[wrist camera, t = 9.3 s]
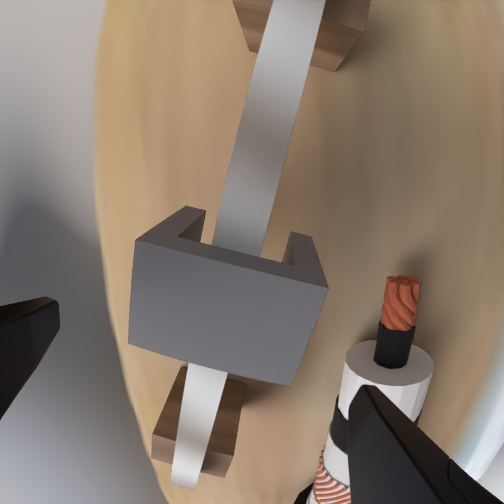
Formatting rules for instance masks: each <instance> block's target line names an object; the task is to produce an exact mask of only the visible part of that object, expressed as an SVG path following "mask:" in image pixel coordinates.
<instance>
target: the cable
mask: <svg viewBox="0 0 504 504" xmlns="http://www.w3.org/2000/svg"><path fill="white" fill-rule="evenodd" d="M420 287H421V283H420V282H418V279H417V278H411V277H410V278H408V279H407V276H403V275H398V276H397V277H394V276H389V277H387V284H386V289H385V293H384V304H383V308H382V317H381V320H380V322H379V328H378V335H377V340H367V341H362V342H360V343H357V344H355V345H353V346H352V347H351V348H350V349H349V350H348V351H347V352H346V357H345V363H344V369H343V375H342V381H341V387H340V393H339V395H338V397H337V399H336V405H335V410H334V415H333V420H332V422H331V424H330V427H329V432H328V436H327V441H326V445H325V446H324V450H322V451H321V456H320V458H319V463H320V464H319V466H318V472H317V473H316V475H317V477H316V478H315V482H314V483H312V484H311V485H310V486H308V487H307V488H306V489H304V490H303V491H302V492H300V493H299V495H298V497H297V499H296V500H295V502H294V504H351V496H350V481H349V469H348V455H347V447H348V409H349V405H350V403H351V401H352V400H353V398H354V396H355V394H356V393H357V391H358V389H359V388H360V386H361V385H363V384H368V385H375V386H377V387H378V388H379V389H380V390H381V391H382V392H383V393H384V394H385V395H386V396H387V397H388V398H389V399H390V400H391V401H392V402H393V403H394V404H395V405H396V406H397V407H398V408H399V409H400V410H401V411H402V412H403V413H404V414H405V415H406V416H407V417H408V418H410V419H411V420H412V421H413V422H414V423H415V424H416V425H417V423H418V420H419V417H420V415H421V412H422V406H423V403H424V400H425V397H426V394H427V391H428V388H429V384H430V381H431V378H432V374H433V371H434V361H433V360H432V359H431V357H430V356H429V354H428V353H427V352H425V351H424V350H422V349H421V348H419V347H417V346H415V345H413V344H412V341H413V336H414V332H415V327H416V326H415V325H414V324H415V319H414V316H415V315H416V313H417V302H418V301H419V295H420Z"/></svg>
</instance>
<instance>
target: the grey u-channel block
mask: <svg viewBox="0 0 504 504" xmlns="http://www.w3.org/2000/svg"><path fill="white" fill-rule="evenodd" d="M205 214H206V210H202V209H198V208H193V207H189V206H185V207H183V208H182V209H180V210H179V211H177V212H176V213H174V214H173V215H171V216H170V217H168V218H167V219H165V220H164V221H162V222H161V223H159V224H158V225H156V226H155V227H153V228H152V229H150V230H149V231H147V232H146V233H144V234H143V235H142V236H140V237H139V238H137V239H136V240H135V249H134V259H133V269H132V281H131V295H130V312H129V334H128V344H131V345H134V346H137V347H140V348H143V349H146V350H149V351H152V352H155V353H159V354H162V355H165V356H168V357H172V358H175V359H178V360H182V361H185V362H189V363H192V364H196V365H200V366H203V367H207V368H211V369H215V370H219V371H223V372H227V373H231V374H235V375H239V376H243V377H248V378H252V379H257V380H261V381H266V382H271V383H276V384H281V385H286V386H291V384H292V382H293V379H294V377H295V374H296V372H297V370H298V367H299V365H300V362H301V360H302V357H303V355H304V352H305V350H306V347H307V345H308V342H309V340H310V337H311V335H312V332H313V329H314V327H315V324H316V322H317V319H318V316H319V314H320V311H321V308H322V305H323V303H324V300H325V297H326V294H327V291H328V289H329V288H328V285H327V282H326V279H325V276H324V273H323V270H322V267H321V263H320V260H319V257H318V255H317V252H316V249H315V246H314V243H313V240H312V237H311V236H307V235H303V234H299V233H295V232H290V235H289V239H288V243H287V246H286V250H285V253H284V257H283V260H282V263H280V262H276V261H272V260H268V259H264V258H260V257H256V256H252V255H248V254H244V253H240V252H236V251H232V250H228V249H224V248H220V247H216V246H212V245H208V244H204V243H200V240H201V235H202V230H203V224H204V219H205Z"/></svg>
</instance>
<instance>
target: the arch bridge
mask: <svg viewBox="0 0 504 504" xmlns="http://www.w3.org/2000/svg"><path fill="white" fill-rule="evenodd" d="M370 1H371V0H233V4H234V7H235V10H236V13H237V16H238V18H239V21H240V24H241V27H242V30H243V33H244V36H245V39H246V42H247V45H248V48H249V51H253V52H258V56H257V60H256V63H255V67H254V71H253V74H252V78H251V82H250V86H249V89H248V93H247V97H246V101H245V105H244V109H243V113H242V116H241V120H240V124H239V128H238V132H237V136H236V140H235V145H234V149H233V153H232V157H231V161H230V165H229V170H228V174H227V178H226V182H225V187H224V191H223V195H222V200H221V204H220V209H219V213H218V218H217V222H216V227H215V231H214V236H213V241H212V246H216V247H220V248H224V249H228V250H232V251H236V252H240V253H244V254H248V255H252V256H256V257H259V256H260V252H261V248H262V245H263V241H264V237H265V233H266V230H267V226H268V222H269V218H270V215H271V211H272V207H273V203H274V200H275V196H276V192H277V188H278V184H279V181H280V177H281V173H282V169H283V165H284V162H285V158H286V154H287V150H288V146H289V142H290V139H291V135H292V131H293V127H294V123H295V119H296V115H297V112H298V108H299V104H300V100H301V96H302V92H303V88H304V84H305V80H306V77H307V73H308V69H309V65H313V66H317V67H320V68H324V69H327V70H330V71H334V72H335V70H336V69H337V68H338V66H339V65H340V64H341V62H342V61H343V60H344V58H345V57H346V56H347V54H348V53H349V52H350V50H351V49H352V48H353V46H354V45H355V44H356V43H357V41H358V40H359V39H360V37H361V36H362V35H363V33H364V31H365V27H366V22H367V17H368V12H369V7H370ZM227 374H228V373H227V372H223V371H219V370H215V369H211V368H207V367H203V366H200V365H196V364H192V363H189V364H188V369H187V368H183V367H181V368H180V370H179V372H178V375H177V377H176V379H175V382H174V384H173V386H172V389H171V391H170V393H169V396H168V398H167V400H166V403H165V405H164V408H163V410H162V412H161V415H160V417H159V419H158V422H157V424H156V427H155V429H154V431H153V434H152V454H151V458H153V459H156V460H160V461H163V462H166V463H169V464H173V466H172V473H171V481H170V484H173V485H177V486H180V487H184V488H188V489H191V490H195V488H196V484H197V481H198V477H199V474H200V472H202V473H206V474H210V475H214V476H219V477H223V478H225V475H226V473H227V471H228V468H229V466H230V463H231V461H232V459H233V456H234V450H235V444H236V438H237V432H238V425H239V419H240V413H241V407H242V400H243V394H244V387H245V384H243V383H239V382H235V381H231V380H227V379H226V377H227Z"/></svg>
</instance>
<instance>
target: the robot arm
mask: <svg viewBox="0 0 504 504" xmlns="http://www.w3.org/2000/svg"><path fill="white" fill-rule="evenodd" d="M59 328H60V313H59V303H58V301H57V300H55V299H52V298H50V297H47V296H46V297H41V298H36V299H31V300H26V301H22V302H17V303H13V304H8V305H3V306H0V420H1V418H2V417H3V415H4V414H5V412H6V411H7V409H8V408H9V406H10V405H11V403H12V402H13V400H14V399H15V397H16V396H17V395H18V393H19V392H20V390H21V389H22V387H23V386H24V385H25V383H26V382H27V380H28V379H29V377H30V376H31V375H32V373H33V372H34V370H35V369H36V367H37V366H38V365H39V363H40V361H41V359H42V358H43V356H44V354H45V353H46V351H47V349H48V347H49V346H50V344H51V342H52V341H53V339H54V338H55V336H56V334H57V333H58V331H59ZM347 455H348V469H349V481H350V496H351V504H504V503H503V502H502V501H500V500H499V499H498V498H496V497H495V496H494V495H493V494H491V493H490V492H489V491H488V490H486V489H485V488H484V487H482V486H481V485H480V484H479V483H478V482H476V481H475V480H474V479H473V478H472V477H470V476H469V475H468V474H467V473H466V472H465V471H464V470H463V469H461V468H460V467H459V466H458V465H457V464H456V463H455V462H454V461H453V460H452V459H451V458H450V459H449V456H448V455H447V454H446V453H445V452H444V451H443V450H442V449H441V448H439V447H438V446H437V445H436V444H435V443H434V442H433V441H432V440H431V439H430V438H429V437H428V436H427V435H426V434H425V433H424V432H423V431H422V430H421V429H420V428H419V427H418V426H417V425H416V424H415V423H414V422H413V421H412V420H411V419H410V418H408V417H407V416H406V415H405V414H404V413H403V412H402V411H401V410H400V409H399V408H398V407H397V406H396V405H395V404H394V403H393V402H392V401H391V400H390V399H389V398H388V397H387V396H386V395H385V394H384V393H383V392H382V391H381V390H380V389H379V388H378V387H377V386H375V385H368V384H363V385H361V386H360V388H359V389H358V391H357V393H356V394H355V396H354V398H353V400H352V401H351V403H350V405H349V409H348V447H347Z"/></svg>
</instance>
